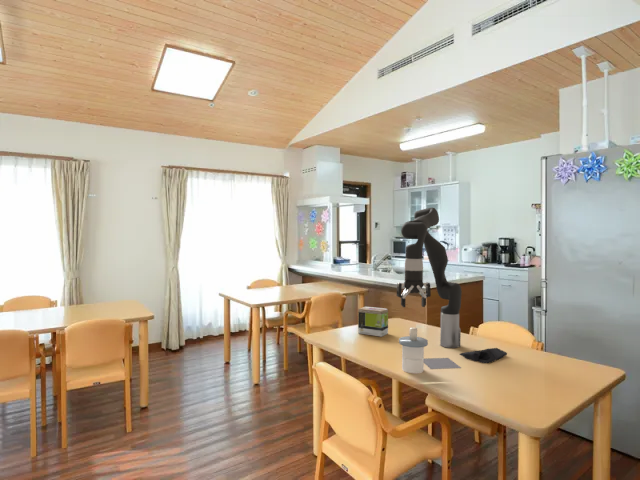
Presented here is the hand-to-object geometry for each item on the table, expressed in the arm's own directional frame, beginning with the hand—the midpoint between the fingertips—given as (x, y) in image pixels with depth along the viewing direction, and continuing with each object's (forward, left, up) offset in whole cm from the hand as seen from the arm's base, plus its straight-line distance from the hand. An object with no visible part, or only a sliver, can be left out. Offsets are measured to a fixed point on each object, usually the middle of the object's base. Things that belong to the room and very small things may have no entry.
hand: (413, 306), depth 174 cm
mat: (-15, -7, -28) cm, 32 cm away
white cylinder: (0, 0, -28) cm, 28 cm away
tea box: (+2, -63, -28) cm, 69 cm away
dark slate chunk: (-40, -15, -28) cm, 52 cm away
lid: (0, 0, -16) cm, 16 cm away
